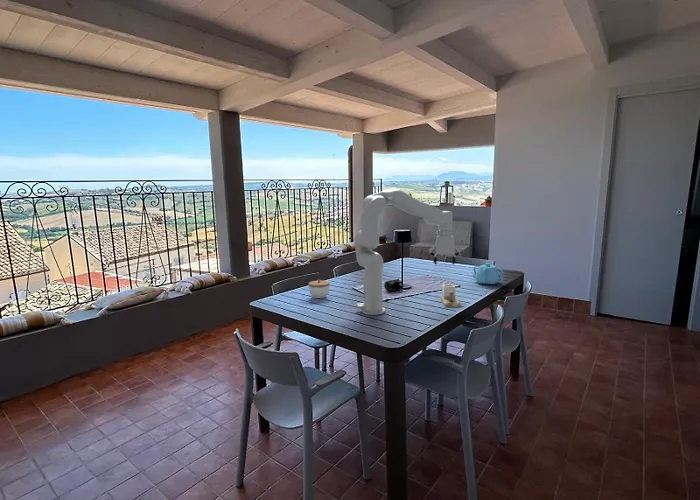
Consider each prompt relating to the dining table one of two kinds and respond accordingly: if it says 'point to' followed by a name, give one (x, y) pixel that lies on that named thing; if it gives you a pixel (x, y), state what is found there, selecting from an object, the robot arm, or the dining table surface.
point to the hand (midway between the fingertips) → (444, 263)
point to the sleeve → (447, 290)
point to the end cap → (393, 285)
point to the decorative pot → (487, 274)
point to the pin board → (450, 301)
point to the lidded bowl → (319, 288)
